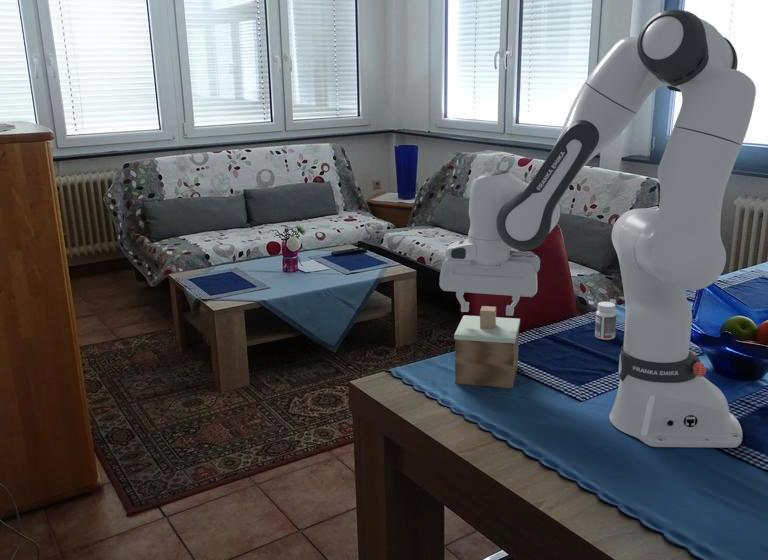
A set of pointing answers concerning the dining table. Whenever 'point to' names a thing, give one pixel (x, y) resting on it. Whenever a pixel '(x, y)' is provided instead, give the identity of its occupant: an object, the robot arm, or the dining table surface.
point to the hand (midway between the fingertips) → (487, 312)
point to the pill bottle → (605, 321)
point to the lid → (487, 327)
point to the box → (486, 363)
